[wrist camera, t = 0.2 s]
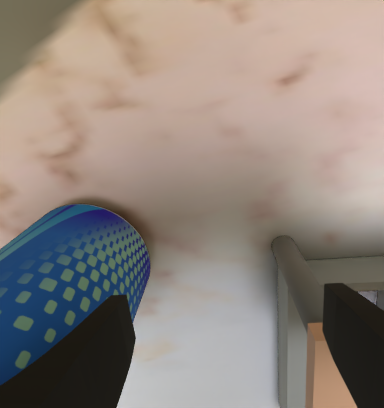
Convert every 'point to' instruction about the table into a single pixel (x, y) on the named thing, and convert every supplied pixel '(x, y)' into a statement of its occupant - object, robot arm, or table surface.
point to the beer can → (64, 278)
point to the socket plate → (294, 329)
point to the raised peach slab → (312, 329)
